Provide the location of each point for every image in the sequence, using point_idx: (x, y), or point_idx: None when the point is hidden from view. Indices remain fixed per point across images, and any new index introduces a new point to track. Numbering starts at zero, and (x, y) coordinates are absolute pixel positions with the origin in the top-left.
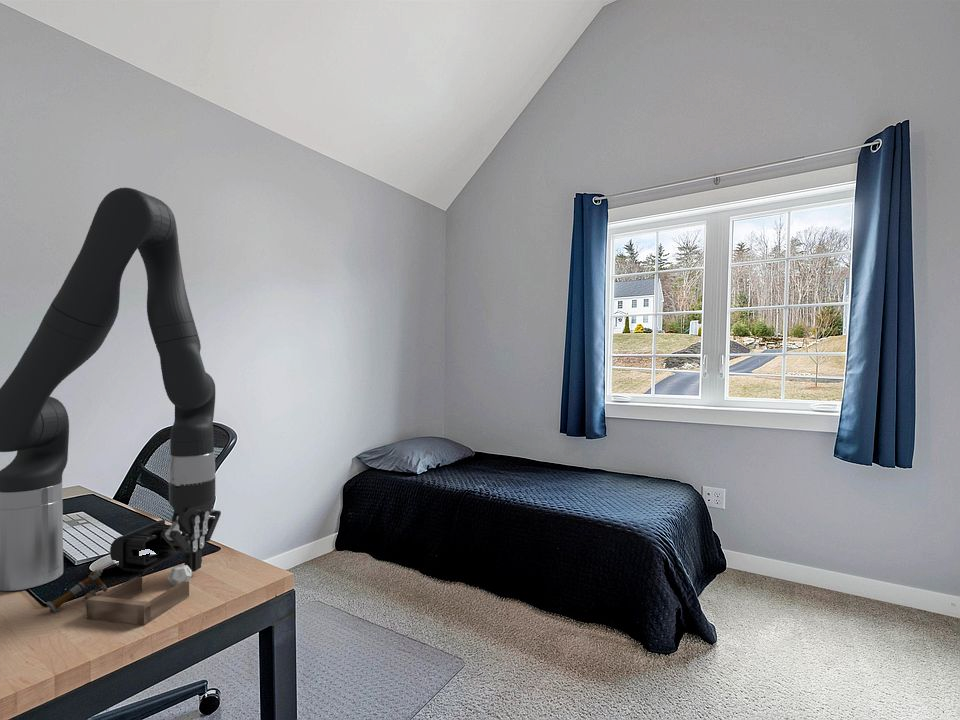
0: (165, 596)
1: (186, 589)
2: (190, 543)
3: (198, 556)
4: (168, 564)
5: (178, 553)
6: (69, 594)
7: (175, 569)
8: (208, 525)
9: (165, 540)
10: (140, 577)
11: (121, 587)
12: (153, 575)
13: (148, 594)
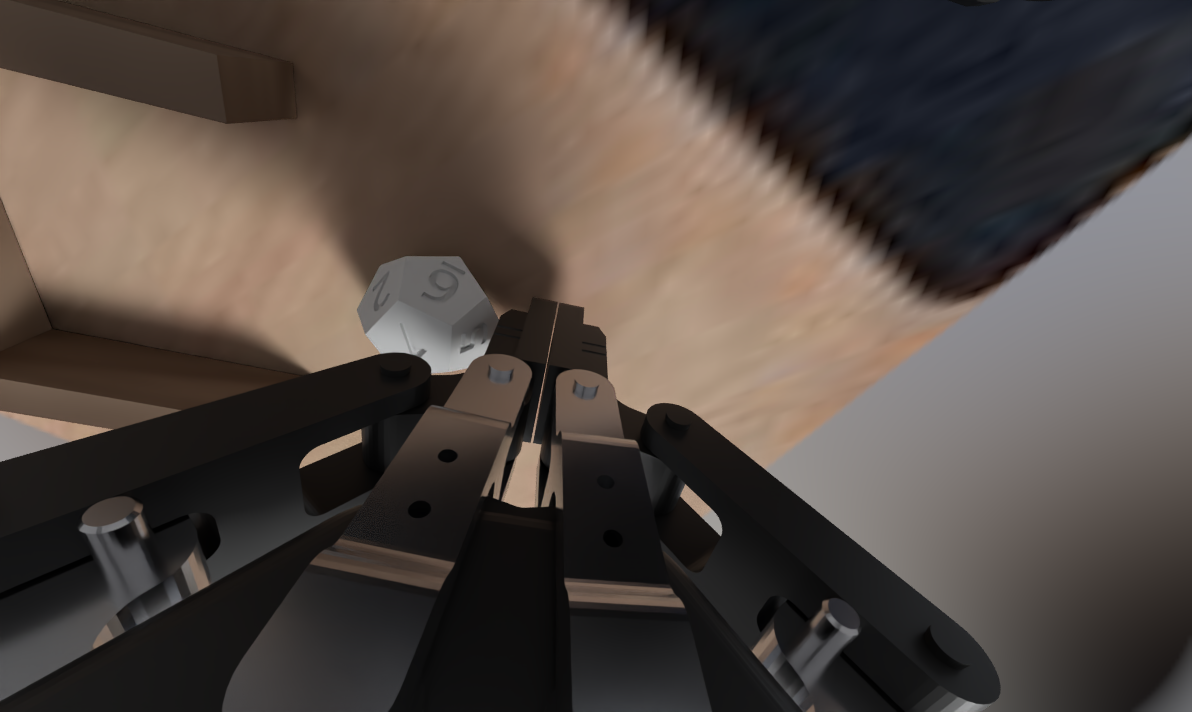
0: (92, 423)
1: None
2: (553, 410)
3: (538, 413)
4: (756, 37)
5: (977, 5)
6: None
7: (368, 333)
8: (714, 586)
9: (115, 429)
10: (216, 110)
11: (4, 57)
12: (550, 31)
13: (278, 185)
